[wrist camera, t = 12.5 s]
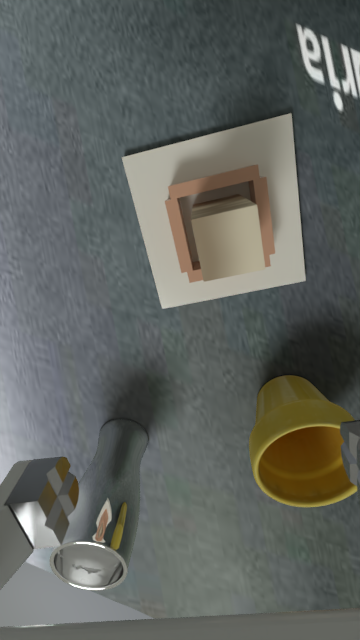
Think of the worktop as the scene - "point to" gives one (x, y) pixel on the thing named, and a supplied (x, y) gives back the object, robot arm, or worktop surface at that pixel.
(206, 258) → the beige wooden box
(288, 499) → the plant pot
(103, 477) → the beer glass
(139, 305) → the worktop surface
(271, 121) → the framed base plate
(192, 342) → the worktop surface
